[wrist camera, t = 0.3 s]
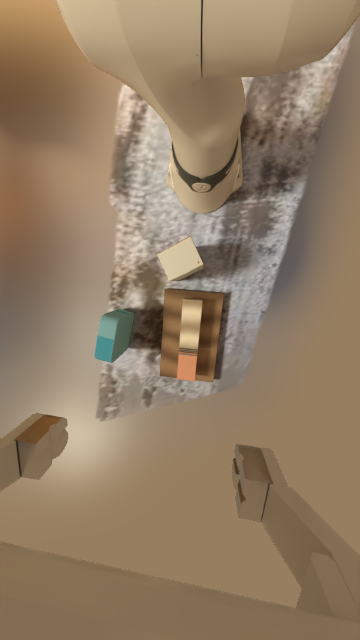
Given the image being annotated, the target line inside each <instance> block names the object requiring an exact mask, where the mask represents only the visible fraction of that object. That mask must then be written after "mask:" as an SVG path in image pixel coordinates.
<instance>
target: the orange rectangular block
mask: <svg viewBox="0 0 360 640" xmlns="http://www.w3.org/2000/svg"><path fill="white" fill-rule="evenodd" d="M196 362H197V353H194V352H185V351H179V357H178V370H177V379H182V380H190V381H195V373H196Z"/></svg>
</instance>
